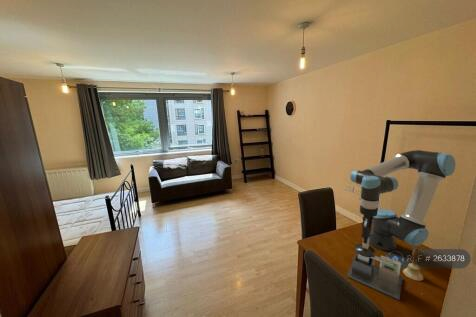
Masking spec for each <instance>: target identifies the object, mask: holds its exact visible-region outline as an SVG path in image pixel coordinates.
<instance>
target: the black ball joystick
mask: <svg viewBox="0 0 476 317" xmlns="http://www.w3.org/2000/svg"><path fill="white" fill-rule="evenodd" d="M354 250H355V252H357V253H358V259H357V261H359V262H361V263H364V264H366V265H369V264H370V258H372V259H375V261H378V262H379V263H380V262H383V263H386V264H388V265H391V266H394V262H391V261H388V260H386V259H383V258H381V256H377V255H375V254H376V251H375V249H374V248H373V246H372V245H369V248H368V249H366V248H363V247H362V243H357V244H355V245H354Z"/></svg>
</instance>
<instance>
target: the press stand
mask: <svg viewBox="0 0 476 317" xmlns="http://www.w3.org/2000/svg"><path fill="white" fill-rule="evenodd" d="M355 252H356V251H355ZM380 258H383V259H386V260H388V261H391V262H394V266H391V265H388V264H386V263H383V262H380V261H379V266H377V265H375V261H376V260H375V259H372V258H370V264H369V265H366V264H364V263H361V262H359V261H357V259H358V253H357V252H356V253H355V255H354V256H353V259H352V262H351V265H350V266H349V270H348V272H347V273H346V277H347V278H349V279H352V280H354V281H355V282H358V283H360V284H362V285H365V286H367V287H369V288H371V289H373V290H376V291H378V292H381V293H382V294H384V295H387V296H389V297H391V298H392V299H395V300H397V301H400V298H401V293H402V292H401V291H402V284H403V283H402V282H403V275H400V271H401V266H402V262H401V261H398V260H395V259H392V258H390V257H387V256H384V255H382V254H381V255H380ZM384 265H386V266H389V267H391V268H394V269H395V270H394V271H392V270H389V269H387V268H384Z"/></svg>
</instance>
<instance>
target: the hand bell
mask: <svg viewBox="0 0 476 317" xmlns="http://www.w3.org/2000/svg"><path fill="white" fill-rule="evenodd" d="M411 255H412V256H411V257H412V263H411V262H410V263H408V264H407V267H406V268H403V269H402V274H404V276H406V277H407V278H409V279H410V280H414V281H416V282H417V281H418V282H420V281H423V280H424V276H423V274H422V273H421V270H420V266H419V265H418V264H417V262H418V259H419V257H420V252H419V248H418V246H414V248H413V250H412V254H411Z"/></svg>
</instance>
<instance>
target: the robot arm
mask: <svg viewBox="0 0 476 317" xmlns="http://www.w3.org/2000/svg"><path fill="white" fill-rule="evenodd" d="M407 169H410V170H411V169H413V170H417V172H416V173H417V174H418V176H419V177H418V178H417V182H416V184H415V186H414V188H413V191H412V195H411V196H410V200H409V202H408V204H407V207H406V210H405V213H404V214H400V216H398V214H397V212H396V211H394V210H391V209H386V208H385V209H378V208H379V202H380V201H379V198H380V195H383V194H386V193H391V192H393V191H395V190H397V189H398V188H399V181H398V179H396V178H395V177H393V176H389V175H391V174H393V173H395V172H398V171H400V170H402V171H403V170H407ZM455 170H456V160H455V157H454V156H453V155H452V154H450V153H444V152H437V151H429V150H427V151H426V150H420V149H417V150H416V149H415V150H409V151H405V152H401V153H398V154H396V155H394V156H393V157H392V158H389V159H388V160H385V161H383V162H380V163H378V164H376V165H374V166H371V167H368V168H366V169H363V170H358V169H354V170H352V171H351V173H350V175H349V176H350V181H351V182H353V183H355V184H357V185H360V186H361V191H360V193H361V194H360V197H359V201H360V205H359V213H360V214H362V215H363V216H362V223H361V226H362V234H361V237H362V243H361V244H362V247H363V248H366V249H368V248H369V246H371V247H374V248H375V249H378V250H381V251H385V252H393V251H395V250H396V249H397V242H396V238H397V239H398V240H400V241H402V242H404V243H406V244H408V245H411V246H413V247H418V246H421V245H422V244H424V242H426V240H427V239H428V237H429V230H428V229H427V228H426V227H427V223H425V219H426V217H427V214H428V211H429V208H430V207H431V204H432V202H433V199H434V196H435V195H436V191H437V189H438V187H439V183H440V181H442V180H445V179H446V177H449V176H452V175H453V174H454V173H455Z"/></svg>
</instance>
